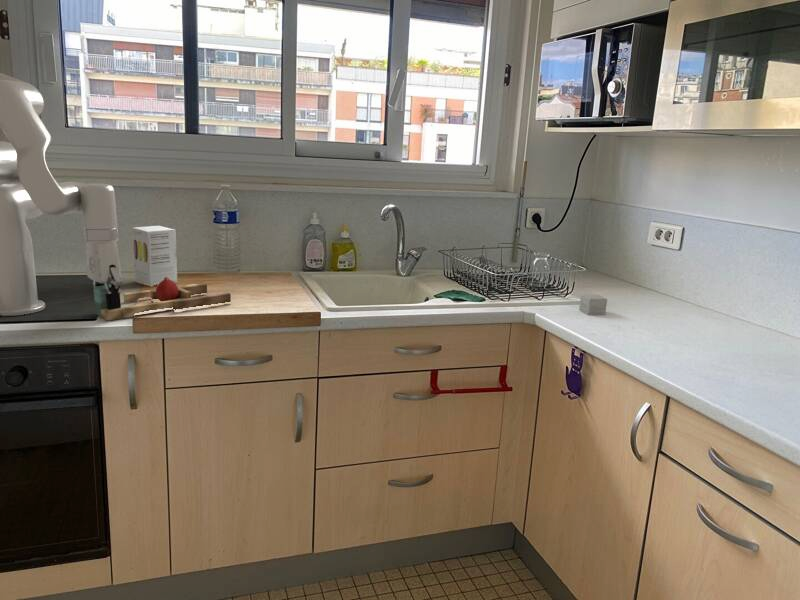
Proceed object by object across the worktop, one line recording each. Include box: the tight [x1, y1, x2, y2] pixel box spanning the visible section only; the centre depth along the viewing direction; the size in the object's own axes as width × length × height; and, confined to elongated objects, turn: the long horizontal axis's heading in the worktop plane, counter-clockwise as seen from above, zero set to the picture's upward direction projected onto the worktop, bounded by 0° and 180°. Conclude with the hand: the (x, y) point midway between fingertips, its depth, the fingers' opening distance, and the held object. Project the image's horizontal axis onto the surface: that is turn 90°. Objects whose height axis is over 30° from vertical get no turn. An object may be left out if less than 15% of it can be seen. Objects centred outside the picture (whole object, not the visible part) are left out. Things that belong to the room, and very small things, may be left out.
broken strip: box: [123, 283, 198, 304], centre depth 183 cm, size 21×1×2 cm, turn 135°
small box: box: [579, 293, 608, 316], centre depth 188 cm, size 6×6×5 cm
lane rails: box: [150, 283, 232, 310], centre depth 178 cm, size 16×14×3 cm
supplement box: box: [132, 225, 178, 285], centre depth 198 cm, size 10×9×17 cm
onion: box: [155, 277, 179, 302], centre depth 174 cm, size 6×6×8 cm
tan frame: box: [92, 284, 192, 321], centre depth 169 cm, size 22×10×7 cm, turn 135°
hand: (107, 305), depth 163 cm, fingers open, 6 cm apart
